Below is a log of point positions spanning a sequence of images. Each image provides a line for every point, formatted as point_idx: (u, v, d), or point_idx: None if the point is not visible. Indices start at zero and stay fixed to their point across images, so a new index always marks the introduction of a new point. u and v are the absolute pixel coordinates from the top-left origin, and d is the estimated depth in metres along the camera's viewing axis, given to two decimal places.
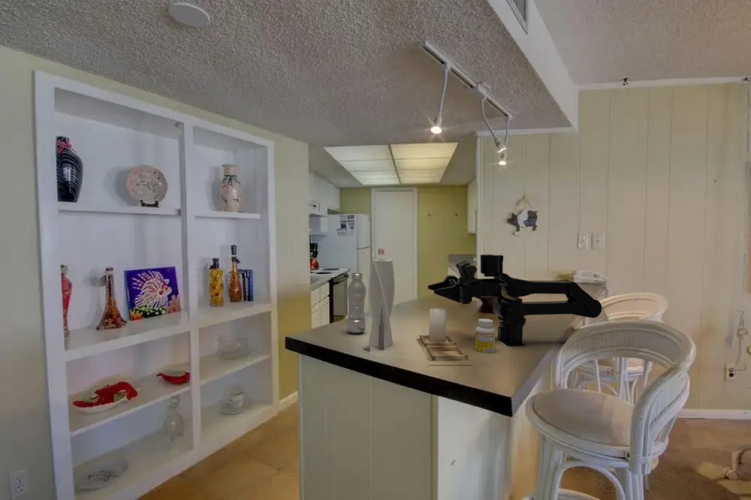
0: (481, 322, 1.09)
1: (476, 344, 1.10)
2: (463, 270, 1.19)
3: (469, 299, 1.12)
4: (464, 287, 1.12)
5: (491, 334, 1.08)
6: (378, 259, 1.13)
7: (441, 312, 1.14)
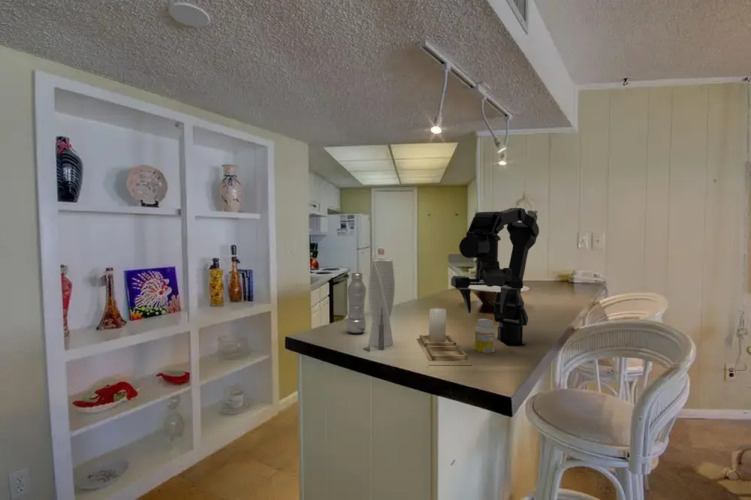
0: (481, 322, 1.09)
1: (476, 344, 1.10)
2: None
3: None
4: None
5: (491, 334, 1.08)
6: (378, 259, 1.13)
7: (441, 312, 1.14)
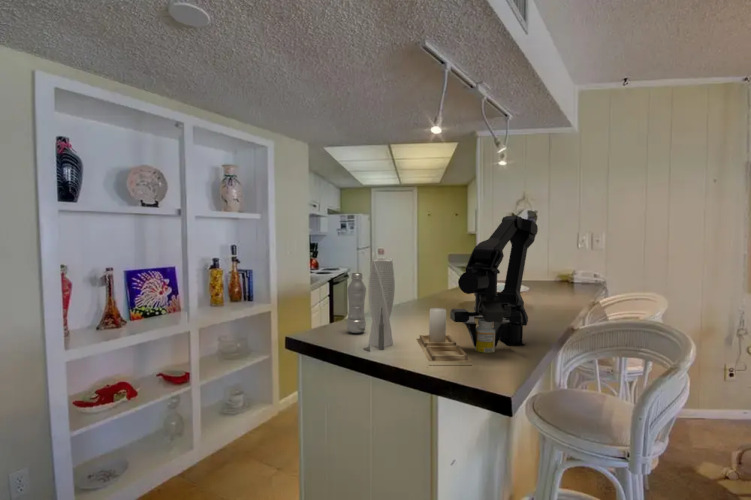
0: (481, 322, 1.09)
1: (476, 344, 1.10)
2: None
3: None
4: None
5: (491, 334, 1.08)
6: (378, 259, 1.13)
7: (441, 312, 1.14)
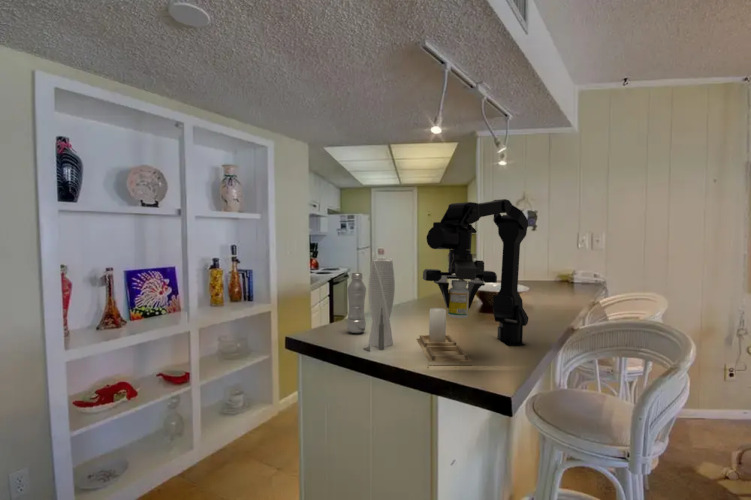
0: (454, 282, 1.04)
1: (449, 305, 1.05)
2: None
3: None
4: None
5: (464, 294, 1.03)
6: (378, 259, 1.13)
7: (441, 312, 1.14)
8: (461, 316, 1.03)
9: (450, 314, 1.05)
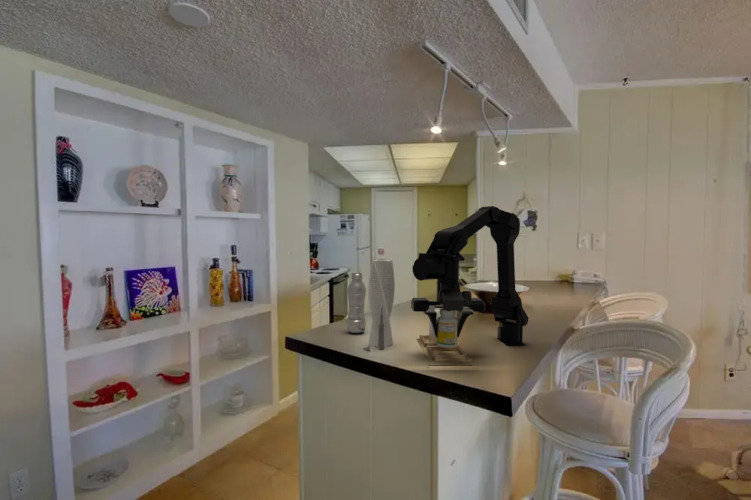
0: (442, 311, 1.03)
1: None
2: None
3: None
4: None
5: (452, 323, 1.02)
6: (378, 259, 1.13)
7: None
8: (450, 346, 1.02)
9: (439, 344, 1.04)
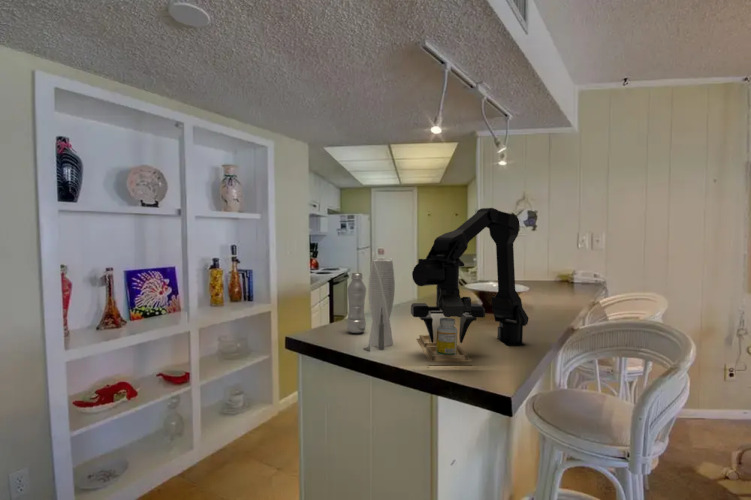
0: (442, 321, 1.03)
1: (437, 344, 1.04)
2: None
3: None
4: None
5: (452, 333, 1.02)
6: (378, 259, 1.13)
7: None
8: None
9: (438, 353, 1.04)
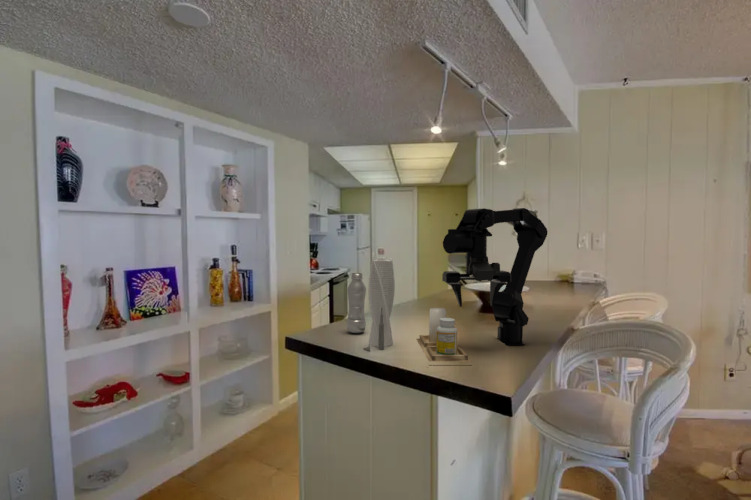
0: (442, 321, 1.03)
1: (437, 344, 1.04)
2: None
3: None
4: None
5: (452, 333, 1.02)
6: (378, 259, 1.13)
7: (441, 312, 1.14)
8: None
9: (438, 353, 1.04)
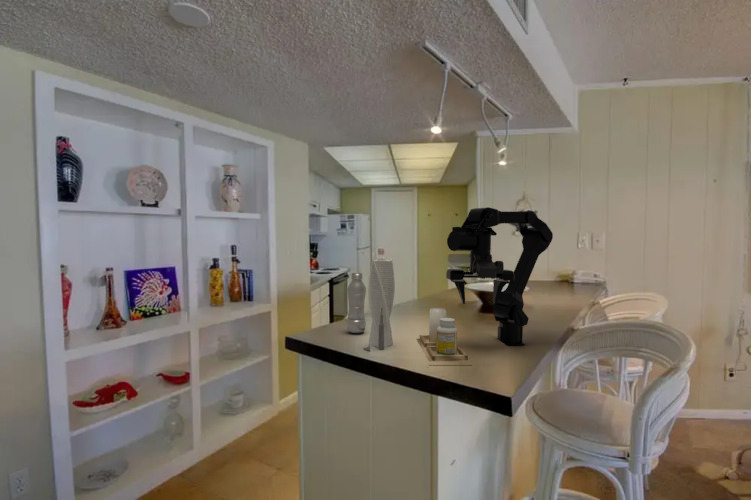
0: (442, 321, 1.03)
1: (437, 344, 1.04)
2: None
3: None
4: None
5: (452, 333, 1.02)
6: (378, 259, 1.13)
7: (441, 312, 1.14)
8: None
9: (438, 353, 1.04)
